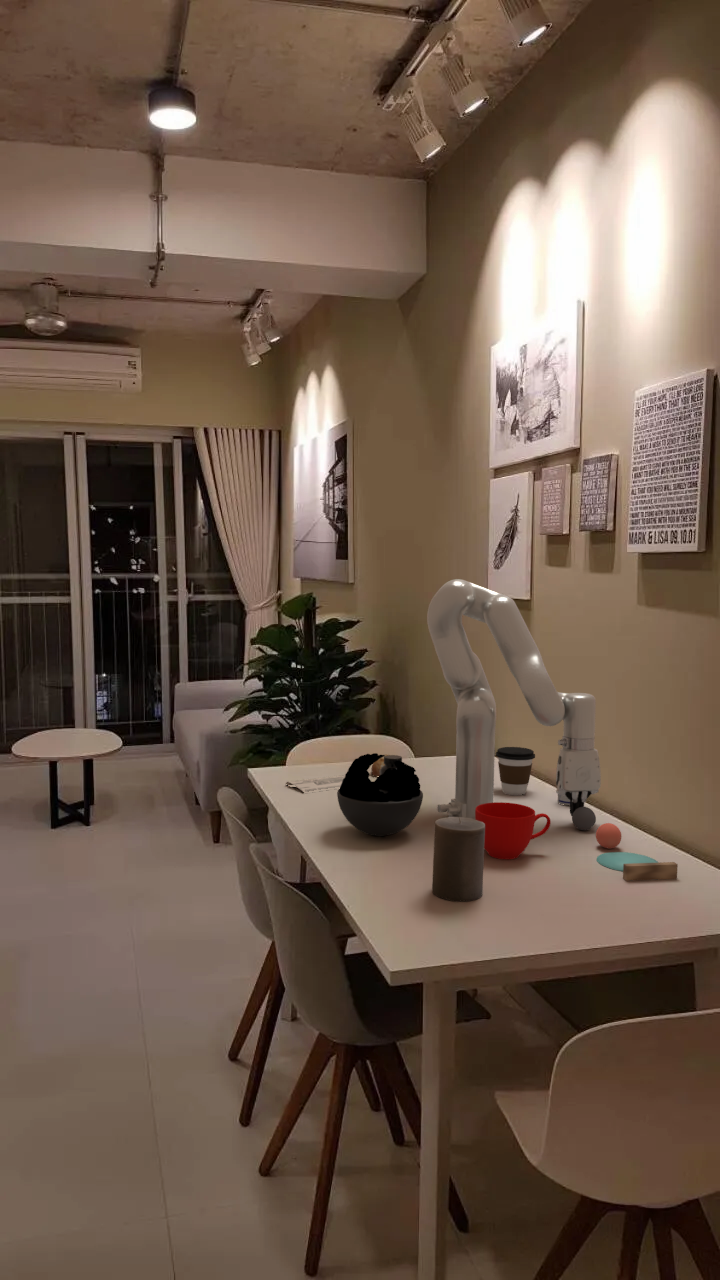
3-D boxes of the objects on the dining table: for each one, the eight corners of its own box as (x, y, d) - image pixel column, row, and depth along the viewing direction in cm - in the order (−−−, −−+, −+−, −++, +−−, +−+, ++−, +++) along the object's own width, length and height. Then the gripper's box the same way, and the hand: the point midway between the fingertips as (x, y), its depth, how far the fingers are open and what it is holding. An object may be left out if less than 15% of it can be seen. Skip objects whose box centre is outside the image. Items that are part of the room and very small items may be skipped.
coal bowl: (329, 823, 220) (330, 747, 218) (409, 820, 224) (411, 745, 223) (345, 849, 201) (346, 765, 199) (432, 845, 205) (434, 762, 203)
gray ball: (581, 834, 215) (582, 811, 214) (566, 827, 220) (567, 805, 219) (600, 831, 217) (601, 808, 217) (585, 825, 222) (586, 803, 222)
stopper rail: (626, 880, 183) (626, 866, 183) (622, 878, 185) (623, 863, 184) (676, 878, 185) (677, 864, 185) (673, 876, 186) (673, 862, 186)
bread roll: (379, 782, 279) (368, 758, 278) (409, 769, 277) (399, 745, 277) (375, 790, 269) (364, 765, 269) (407, 777, 267) (395, 752, 267)
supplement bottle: (375, 798, 244) (376, 754, 243) (398, 796, 247) (399, 753, 246) (385, 805, 238) (386, 760, 237) (409, 802, 241) (410, 758, 240)
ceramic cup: (560, 862, 194) (561, 816, 193) (484, 865, 191) (485, 819, 190) (538, 844, 207) (540, 801, 206) (466, 846, 204) (468, 803, 203)
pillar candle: (447, 904, 169) (450, 825, 167) (423, 887, 178) (426, 812, 176) (492, 898, 173) (495, 821, 171) (466, 881, 181) (469, 808, 180)
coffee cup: (537, 798, 248) (538, 754, 247) (497, 797, 248) (498, 754, 247) (530, 788, 259) (532, 746, 258) (492, 787, 259) (493, 746, 258)
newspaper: (347, 778, 271) (347, 770, 270) (369, 791, 261) (370, 782, 260) (279, 786, 258) (280, 778, 258) (300, 800, 248) (300, 791, 248)
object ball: (606, 853, 201) (607, 828, 200) (590, 845, 206) (591, 821, 206) (626, 850, 203) (627, 825, 203) (609, 843, 208) (610, 819, 208)
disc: (624, 875, 186) (624, 874, 186) (584, 856, 198) (584, 855, 198) (673, 868, 191) (673, 867, 191) (631, 850, 203) (631, 849, 203)
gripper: (556, 747, 217) (554, 823, 218) (614, 745, 220) (611, 820, 221) (543, 741, 224) (542, 814, 226) (599, 739, 227) (597, 811, 229)
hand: (576, 817), depth 223 cm, fingers closed
